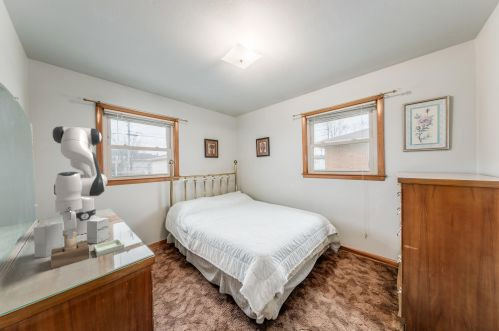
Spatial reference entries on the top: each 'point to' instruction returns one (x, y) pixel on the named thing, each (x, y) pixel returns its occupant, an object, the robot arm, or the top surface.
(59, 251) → the walnut hole block
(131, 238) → the top surface
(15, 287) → the top surface
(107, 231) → the supplement box
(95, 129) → the robot arm
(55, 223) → the skincare box
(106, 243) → the sage tray
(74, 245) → the beech dowel
